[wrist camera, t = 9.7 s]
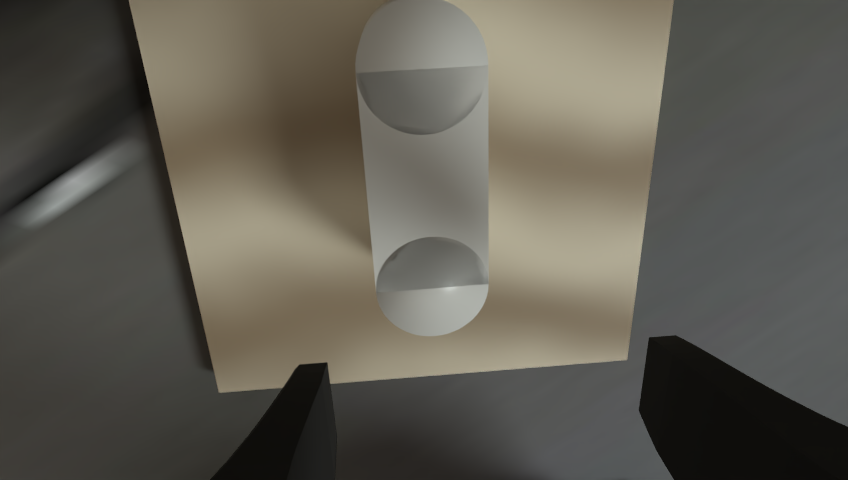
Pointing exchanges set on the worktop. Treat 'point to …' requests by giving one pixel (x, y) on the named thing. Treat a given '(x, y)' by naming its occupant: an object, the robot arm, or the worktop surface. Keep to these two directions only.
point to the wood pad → (347, 196)
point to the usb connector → (426, 162)
